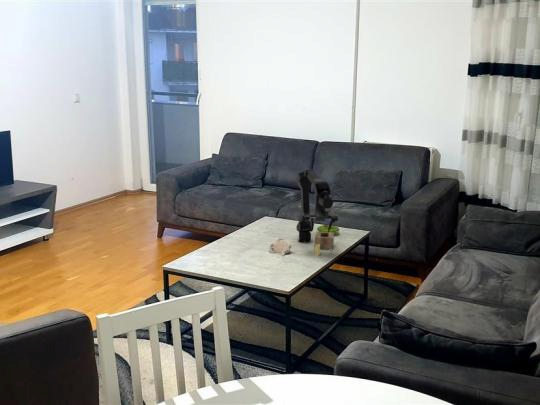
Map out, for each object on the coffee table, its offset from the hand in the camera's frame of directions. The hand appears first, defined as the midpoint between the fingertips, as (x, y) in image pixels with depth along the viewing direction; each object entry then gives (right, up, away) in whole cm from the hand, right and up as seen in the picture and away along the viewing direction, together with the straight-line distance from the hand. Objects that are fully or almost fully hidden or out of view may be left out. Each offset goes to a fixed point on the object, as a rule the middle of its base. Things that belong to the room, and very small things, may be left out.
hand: (319, 232), depth 331 cm
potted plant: (+8, -3, +38) cm, 39 cm away
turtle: (-21, -12, +5) cm, 25 cm away
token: (-1, -12, +2) cm, 12 cm away
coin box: (+4, -9, +14) cm, 17 cm away
